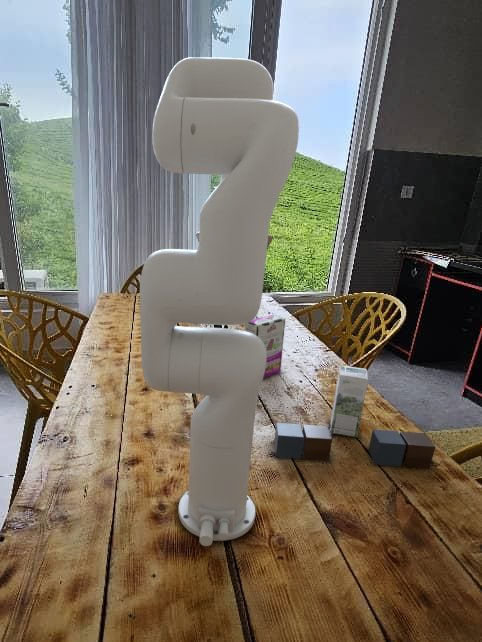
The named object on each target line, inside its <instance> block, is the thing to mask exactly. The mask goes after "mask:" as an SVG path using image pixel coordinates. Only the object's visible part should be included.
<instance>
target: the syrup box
mask: <svg viewBox="0 0 482 642" xmlns="http://www.w3.org/2000/svg"><path fill="white" fill-rule="evenodd" d="M368 385H369V376H368V371H367V368H362V367H355V366H350V365H349V366H348V365H339V367H338V374H337V379H336V386H335V392H334V398H333V403H332V409H331V415H330V434H333V435H338V436H343V437H351V438H356V439H357V438H358V433H359V428H360V424H361V419H362V413H363V409H364V404H365V399H366V395H367V389H368Z"/></svg>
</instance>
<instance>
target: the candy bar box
mask: <svg viewBox="0 0 482 642" xmlns="http://www.w3.org/2000/svg"><path fill="white" fill-rule="evenodd" d="M285 327H286V318H285V317H282V316H279V315H276V314H270V315H267V316H262V317H258V318H254V319H253V320H252V321H251V322H248V323H246V324H245V328H244V331H247V332H250V333H252V334H254V335H256V336H257V337H259V338H260V339H261V340H262V342H263V343H264V345H265V348H266V354H267V359H266V367H265V373H264V376H263V379H266V378H268V377H272V376H274V375H276V374H279V373H281V370H282V369H281V368H282V360H283V359H282V358H283V348H284V337H285Z"/></svg>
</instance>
